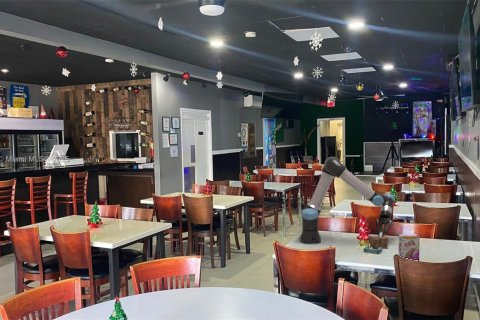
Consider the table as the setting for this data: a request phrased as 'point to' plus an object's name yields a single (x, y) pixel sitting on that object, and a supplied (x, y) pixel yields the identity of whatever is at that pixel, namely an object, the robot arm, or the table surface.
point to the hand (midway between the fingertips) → (380, 241)
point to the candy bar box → (409, 246)
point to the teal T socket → (373, 250)
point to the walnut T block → (378, 242)
